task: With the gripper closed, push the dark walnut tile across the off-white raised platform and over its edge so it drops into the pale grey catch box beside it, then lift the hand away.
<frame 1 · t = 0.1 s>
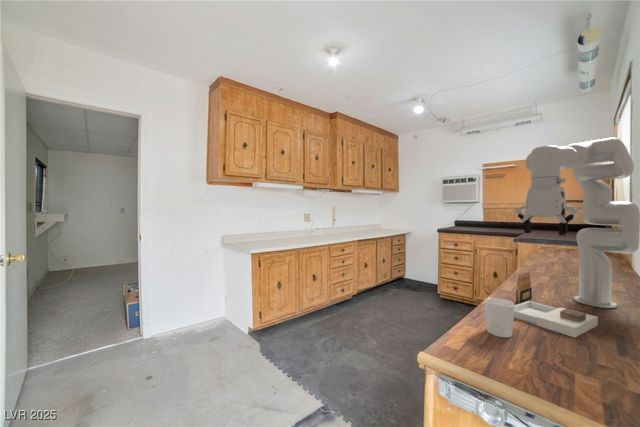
hand: (544, 234, 91), 31 cm above the counter, tool pointing down, fingers open, 9 cm apart
ammunition clip: (523, 301, 117), on the counter
white cup: (499, 333, 86), on the counter
platform: (567, 325, 91), on the counter
catch box: (532, 315, 100), on the counter
walnut tile: (572, 318, 90), point 3 cm above the counter, touching platform
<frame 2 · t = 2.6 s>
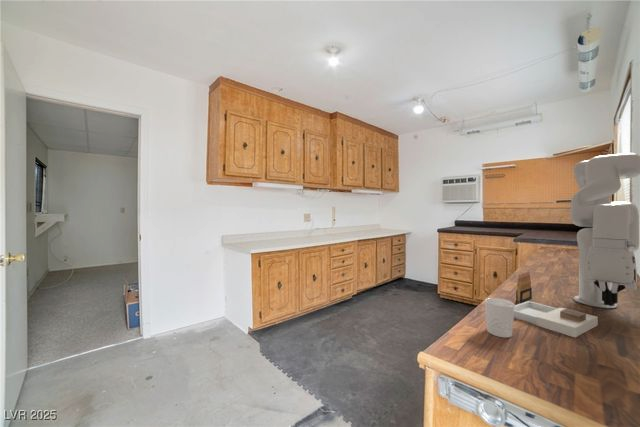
hand: (609, 304, 82), 10 cm above the counter, tool pointing down, fingers closed
nothing on the counter moved.
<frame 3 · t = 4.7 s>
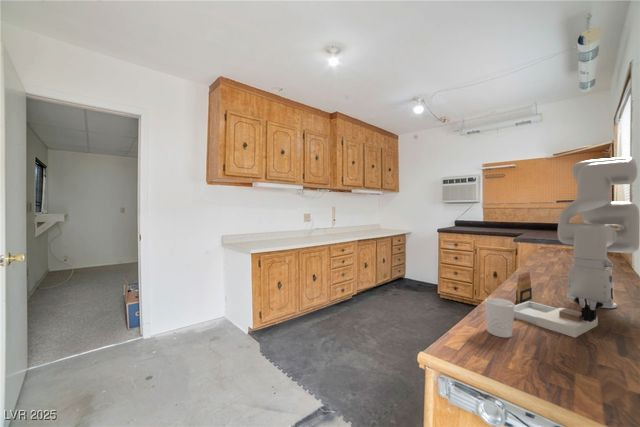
hand: (588, 320, 87), 4 cm above the counter, tool pointing down, fingers closed
walnut tile: (571, 318, 90), point 3 cm above the counter, touching gripper, platform
everything else where it was.
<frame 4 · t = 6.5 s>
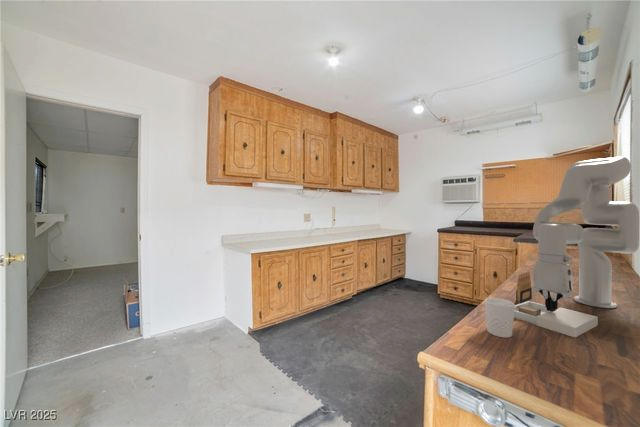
hand: (551, 310, 95), 4 cm above the counter, tool pointing down, fingers closed
walnut tile: (529, 308, 101), point 2 cm above the counter, tilted 180°, touching catch box
everything else where it was.
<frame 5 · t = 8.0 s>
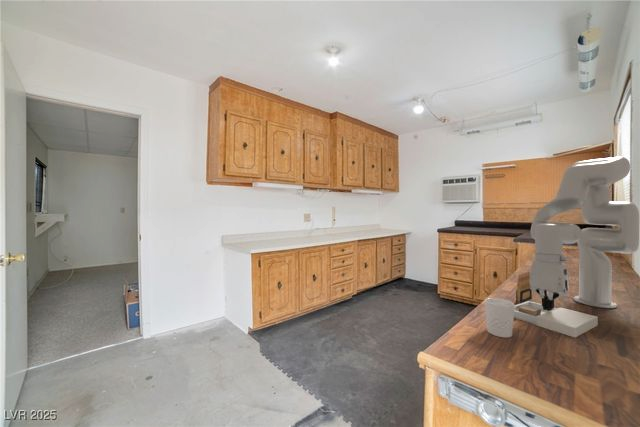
hand: (547, 309, 96), 4 cm above the counter, tool pointing down, fingers closed
nothing on the counter moved.
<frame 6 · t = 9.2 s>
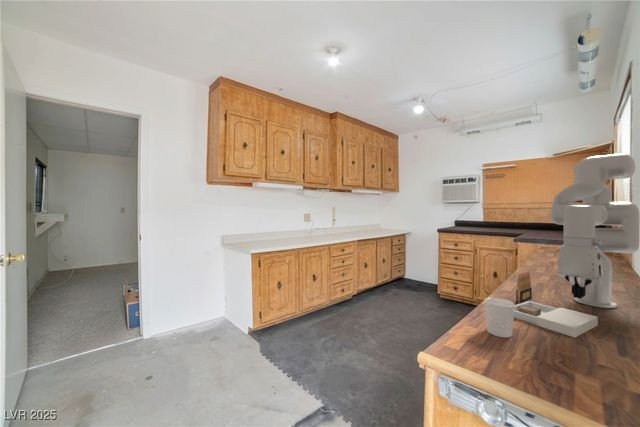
hand: (578, 297, 89), 10 cm above the counter, tool pointing down, fingers closed
nothing on the counter moved.
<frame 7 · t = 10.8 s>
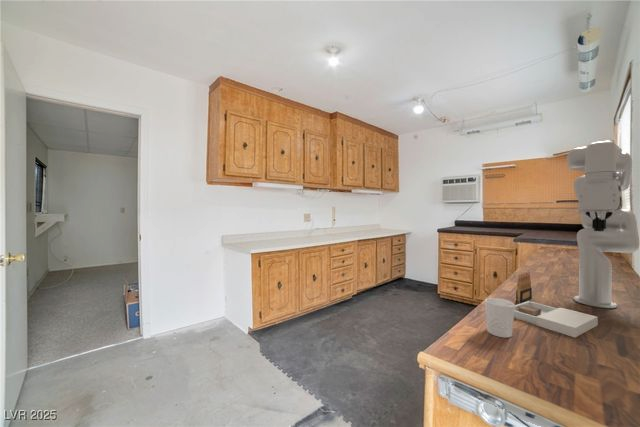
hand: (599, 230, 94), 32 cm above the counter, tool pointing down, fingers closed
nothing on the counter moved.
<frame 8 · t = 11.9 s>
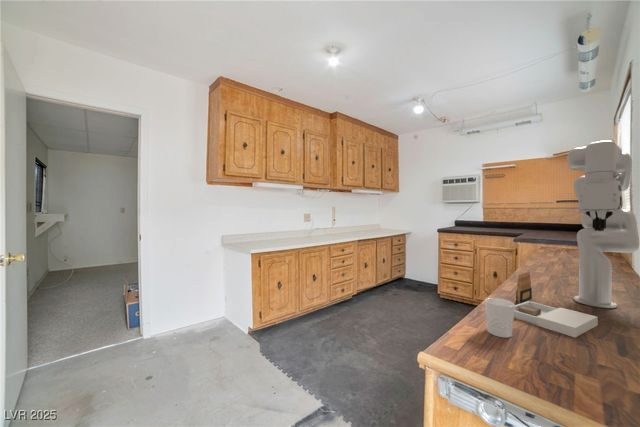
hand: (599, 230, 94), 32 cm above the counter, tool pointing down, fingers closed
nothing on the counter moved.
at the end: walnut tile inside the target area on the catch box (0.5 cm from its centre), point 2.5 cm above the catch box's base; walnut tile touching catch box; walnut tile moved 12.3 cm from its start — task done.
